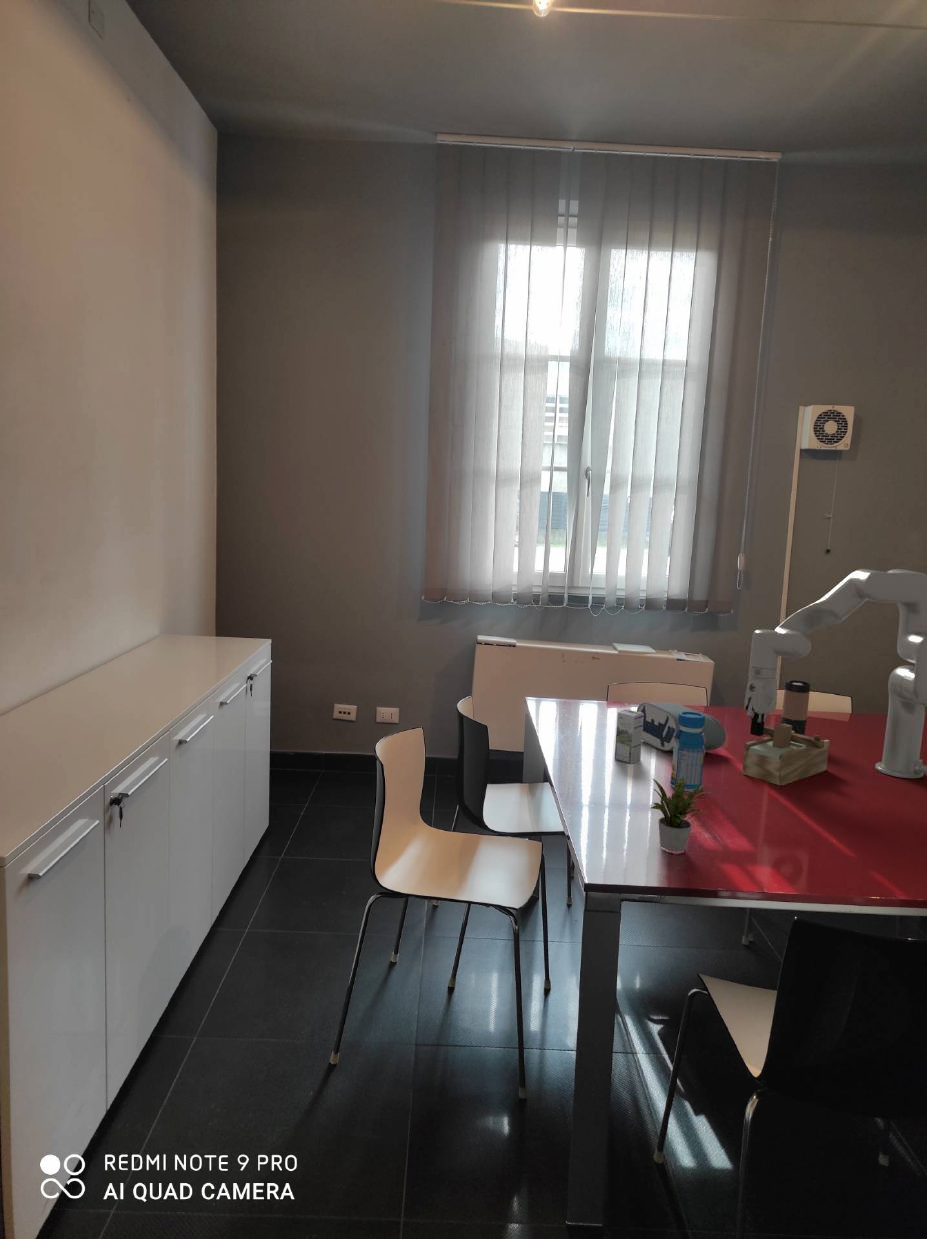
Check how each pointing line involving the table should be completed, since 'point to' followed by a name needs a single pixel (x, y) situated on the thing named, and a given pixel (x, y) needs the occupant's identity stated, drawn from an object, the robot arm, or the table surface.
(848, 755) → the table surface
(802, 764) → the toolbox
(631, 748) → the syrup box
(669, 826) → the house plant
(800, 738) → the wooden bar
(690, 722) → the beverage bottle
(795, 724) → the travel mug
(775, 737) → the lid
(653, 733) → the grey hat
